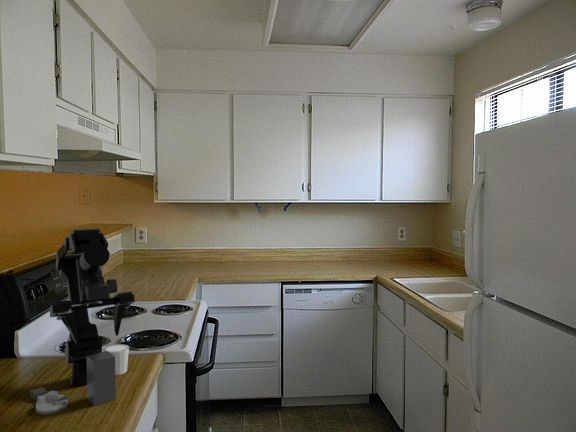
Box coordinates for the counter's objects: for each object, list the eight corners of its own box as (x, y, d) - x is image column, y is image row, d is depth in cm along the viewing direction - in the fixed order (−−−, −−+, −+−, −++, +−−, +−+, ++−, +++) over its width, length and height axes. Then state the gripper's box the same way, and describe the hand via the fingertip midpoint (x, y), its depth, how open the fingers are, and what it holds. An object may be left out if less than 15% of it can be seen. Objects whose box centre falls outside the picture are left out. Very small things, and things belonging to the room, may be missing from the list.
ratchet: (72, 406, 106) (72, 392, 106) (42, 417, 101) (42, 402, 101) (50, 390, 115) (49, 376, 115) (21, 399, 110) (21, 385, 110)
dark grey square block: (87, 398, 111) (86, 355, 110) (108, 392, 114) (107, 351, 114) (94, 405, 107) (93, 361, 106) (115, 399, 110) (114, 356, 110)
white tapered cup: (111, 366, 131) (111, 343, 131) (133, 367, 130) (133, 344, 130) (99, 375, 124) (98, 351, 124) (122, 377, 124) (122, 352, 123)
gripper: (52, 273, 98) (59, 343, 94) (136, 264, 109) (145, 327, 105) (47, 283, 107) (52, 348, 103) (125, 275, 118) (133, 333, 114)
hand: (97, 339), depth 106 cm, fingers open, 9 cm apart
